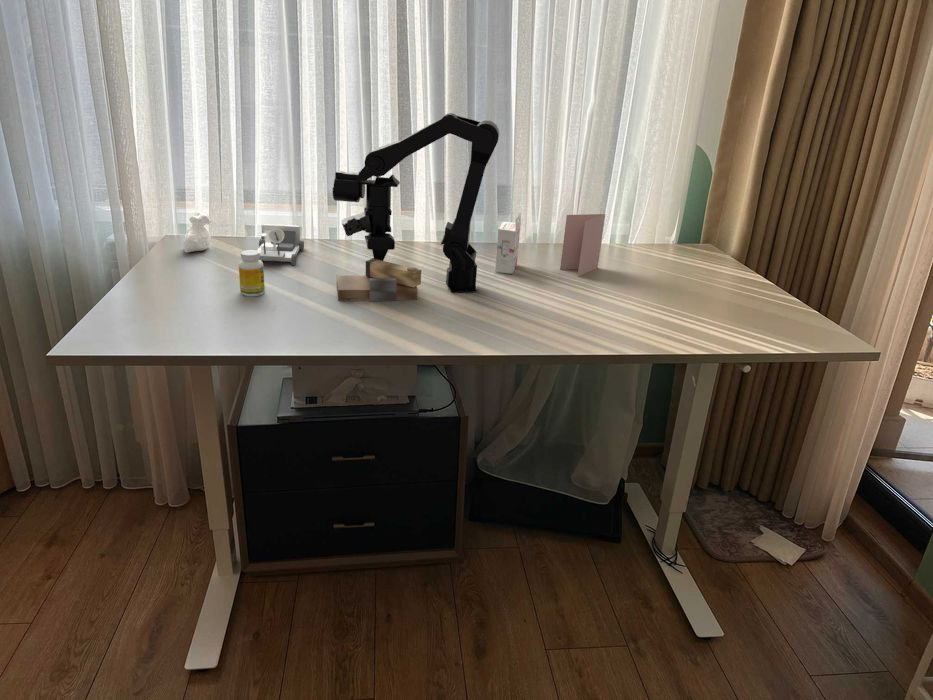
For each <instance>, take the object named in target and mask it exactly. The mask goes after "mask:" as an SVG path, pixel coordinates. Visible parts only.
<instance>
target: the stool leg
mask: <svg viewBox="0 0 933 700" xmlns="http://www.w3.org/2000/svg"><path fill="white" fill-rule="evenodd" d="M365 276H367V277H373V278H396V280H397V283H398V284H402V285H406V286H410V287H418V286H420V285H421V284H422V269H420V268H417V267H412V266H406V265H403V264H398V263H393V262H390V261H386V260H383V261H382V260H378V259H375V258H374V257H373V258H370V259H368V260H366V261H365Z"/></svg>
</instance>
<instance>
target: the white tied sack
mask: <svg viewBox="0 0 933 700" xmlns="http://www.w3.org/2000/svg"><path fill="white" fill-rule="evenodd" d="M188 220H189V222H190V223H191V224H192V225H191V227H189V228H188V229H187V230H186V233H185V236H184V237H183V240H182V241H183V243H182V246H183V250H184V253H191V252H200V251H201V252H202V251H206V250H207V248H208V247H209V246H210V244H211V241H212V240H211V239H212V237H211V233H210V231H209V230H208V228H207V226H208V225H210V224H211V220H212V219H211V217H210V214H209V213H208V212H203V211H201V210H198V211H197V212H195V213H194V214H193V215H192V216H190V217H189V219H188ZM205 225H207V226H205Z"/></svg>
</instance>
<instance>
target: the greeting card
mask: <svg viewBox="0 0 933 700" xmlns="http://www.w3.org/2000/svg"><path fill="white" fill-rule="evenodd" d="M565 217H566V218H565V225H564V226H565V227H564V235H563V242H562V250H561V251H562V252H561V258H560V265H559V266H560V267H559V270H578V272H577V277H581V276H583V275H585V274H587V273H589V272H592V271H594V270H596V269H599V268H598V267H599V261H600V254H601V249H602V248H601V247H602V243H603V242H602V239H603V233H604V226H605V221H606V220H605V219H606V214H605V213H603V214H602V213H597V214H595V213H594V214H590V213H589V214H566V216H565Z"/></svg>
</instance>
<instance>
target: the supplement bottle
mask: <svg viewBox="0 0 933 700" xmlns="http://www.w3.org/2000/svg"><path fill="white" fill-rule="evenodd" d="M240 258H241V260H240V261H239V262H238V276H239V277H238V278H239V290H240V291H239V292H240V294H241V295H243V296H244V297H259V296H262V295H263V294H265V272H264V271H265V270H264V269H265V268H264V263H263V260H259V258H260V253H259V251H257V250H255V249H246V250H243V251H241V252H240Z"/></svg>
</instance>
